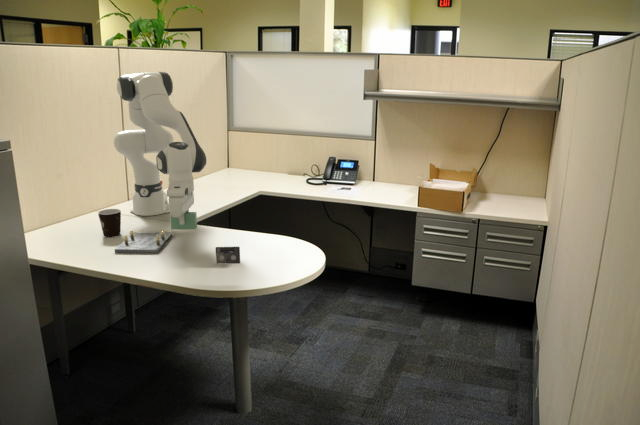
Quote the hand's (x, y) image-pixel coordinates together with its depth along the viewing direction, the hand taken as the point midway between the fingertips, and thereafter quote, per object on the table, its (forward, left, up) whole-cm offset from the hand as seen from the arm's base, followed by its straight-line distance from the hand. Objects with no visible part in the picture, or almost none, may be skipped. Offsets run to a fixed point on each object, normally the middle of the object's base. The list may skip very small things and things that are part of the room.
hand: (184, 222), depth 200 cm
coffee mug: (-14, -34, -11) cm, 38 cm away
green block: (0, 0, -2) cm, 2 cm away
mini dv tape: (+15, +19, -11) cm, 27 cm away
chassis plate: (-4, -17, -10) cm, 20 cm away
